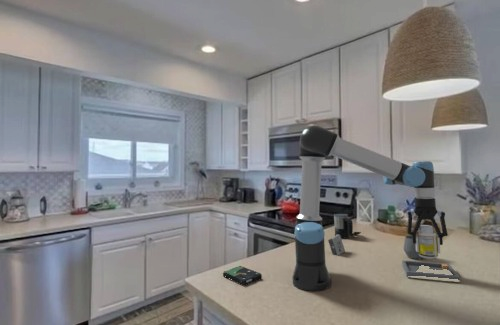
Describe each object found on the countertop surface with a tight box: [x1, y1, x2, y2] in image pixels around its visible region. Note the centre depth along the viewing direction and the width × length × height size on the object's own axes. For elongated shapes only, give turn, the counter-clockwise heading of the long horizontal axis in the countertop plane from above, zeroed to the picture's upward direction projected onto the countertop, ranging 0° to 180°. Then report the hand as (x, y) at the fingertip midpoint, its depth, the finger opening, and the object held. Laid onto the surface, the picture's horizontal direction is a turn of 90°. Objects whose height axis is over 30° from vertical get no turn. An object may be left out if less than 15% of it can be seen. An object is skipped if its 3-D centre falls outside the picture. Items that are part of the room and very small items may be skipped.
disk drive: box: [222, 265, 263, 286], centre depth 122 cm, size 10×3×15 cm
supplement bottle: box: [416, 224, 439, 260], centre depth 118 cm, size 7×7×13 cm
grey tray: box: [401, 260, 461, 281], centre depth 118 cm, size 18×15×2 cm
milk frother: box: [333, 213, 362, 239], centre depth 185 cm, size 14×16×15 cm
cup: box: [403, 235, 423, 260], centre depth 139 cm, size 10×9×10 cm
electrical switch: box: [327, 235, 346, 256], centre depth 152 cm, size 9×5×9 cm, turn 141°
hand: (427, 251), depth 118 cm, fingers closed on supplement bottle, 7 cm apart
